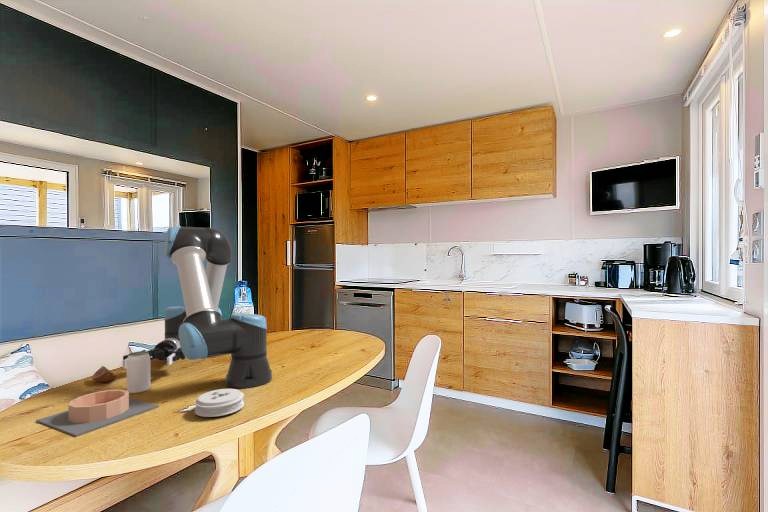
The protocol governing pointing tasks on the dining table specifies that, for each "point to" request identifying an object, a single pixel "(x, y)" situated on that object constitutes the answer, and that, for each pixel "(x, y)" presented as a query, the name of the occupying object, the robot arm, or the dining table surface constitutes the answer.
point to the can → (138, 372)
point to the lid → (219, 402)
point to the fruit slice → (103, 375)
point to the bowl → (98, 406)
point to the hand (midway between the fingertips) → (146, 363)
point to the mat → (77, 429)
